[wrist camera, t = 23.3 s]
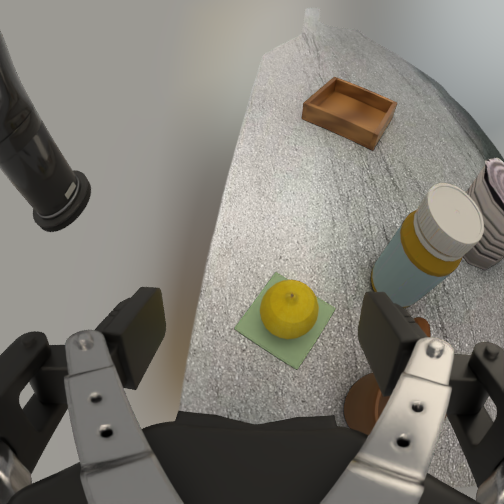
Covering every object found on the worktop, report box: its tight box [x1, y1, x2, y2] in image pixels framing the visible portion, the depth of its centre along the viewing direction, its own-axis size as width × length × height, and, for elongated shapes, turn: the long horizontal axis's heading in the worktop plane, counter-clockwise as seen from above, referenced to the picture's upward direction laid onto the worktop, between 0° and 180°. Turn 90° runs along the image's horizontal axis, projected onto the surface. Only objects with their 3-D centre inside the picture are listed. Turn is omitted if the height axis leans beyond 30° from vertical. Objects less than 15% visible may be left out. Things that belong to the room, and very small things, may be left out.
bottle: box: [371, 183, 484, 308], centre depth 26 cm, size 7×7×15 cm
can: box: [463, 158, 504, 270], centre depth 30 cm, size 11×11×12 cm
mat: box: [234, 272, 336, 370], centre depth 31 cm, size 8×8×1 cm
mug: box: [344, 317, 447, 435], centre depth 23 cm, size 12×8×9 cm, turn 162°
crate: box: [302, 77, 397, 151], centre depth 47 cm, size 14×14×4 cm
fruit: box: [260, 280, 319, 339], centre depth 28 cm, size 6×6×8 cm
